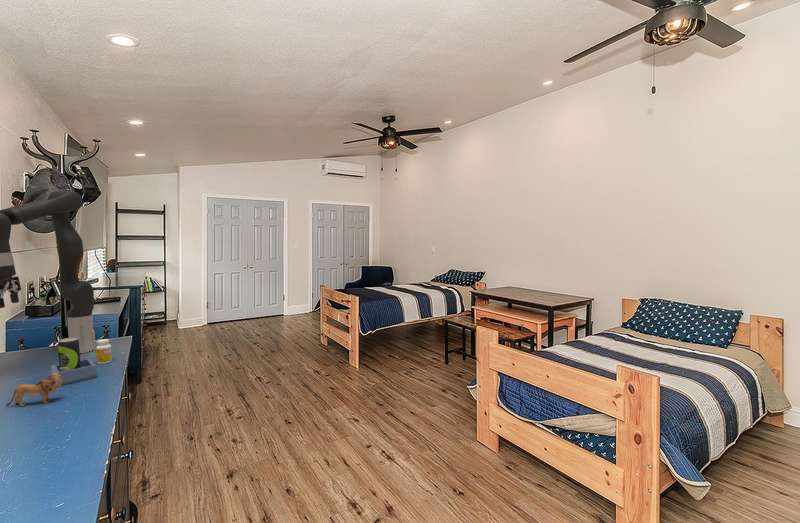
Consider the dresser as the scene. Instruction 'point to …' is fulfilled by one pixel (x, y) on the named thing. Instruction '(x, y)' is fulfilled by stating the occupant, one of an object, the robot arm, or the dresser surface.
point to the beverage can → (69, 354)
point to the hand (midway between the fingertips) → (8, 305)
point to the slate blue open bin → (77, 372)
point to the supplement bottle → (103, 351)
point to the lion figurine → (37, 389)
